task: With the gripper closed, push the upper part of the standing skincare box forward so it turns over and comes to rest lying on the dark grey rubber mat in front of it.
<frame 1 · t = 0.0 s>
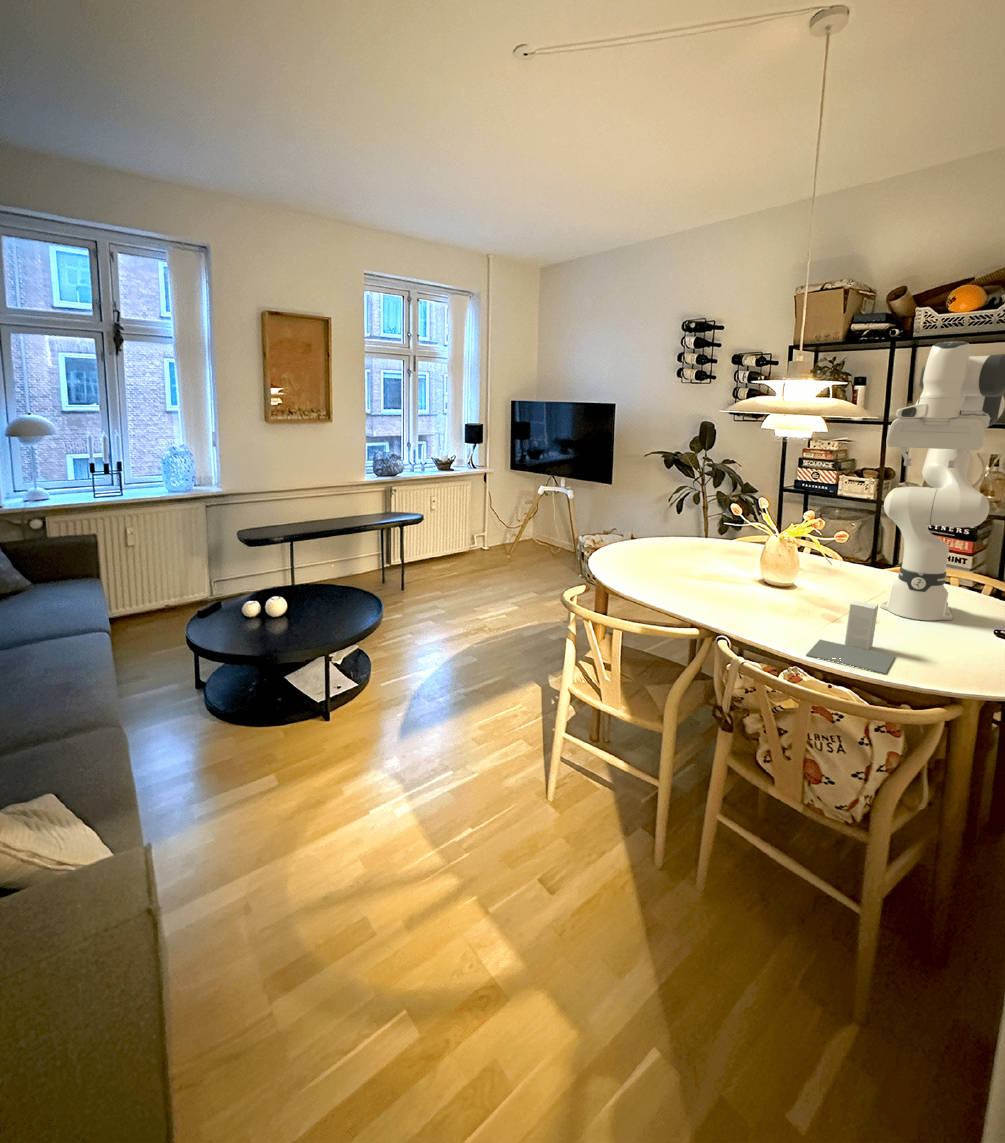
hand: (929, 466, 157), 48 cm above the table, fingers open, 8 cm apart
skincare box: (857, 646, 168), on the table
mat: (850, 656, 161), on the table
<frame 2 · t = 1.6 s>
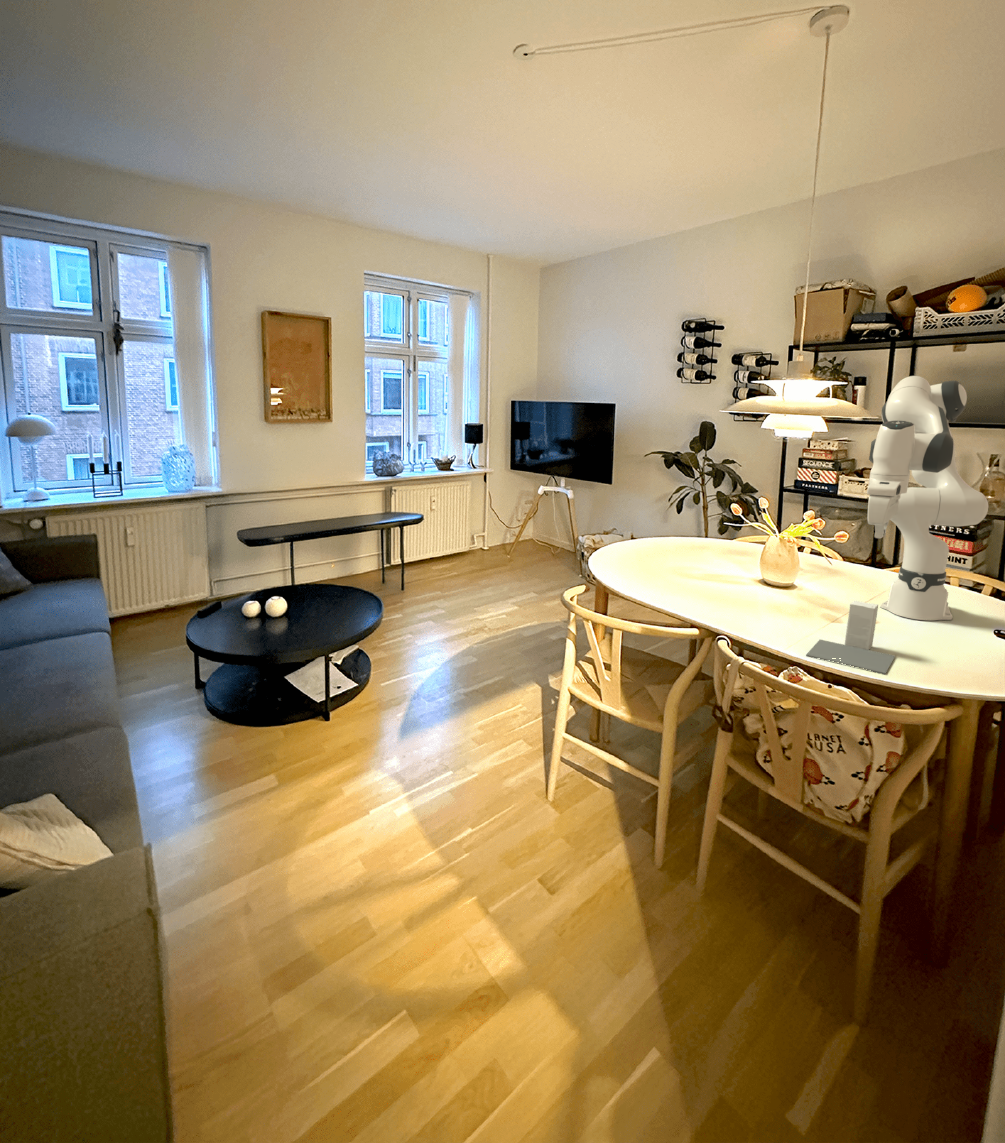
hand: (879, 536, 165), 29 cm above the table, fingers closed
nothing on the table moved.
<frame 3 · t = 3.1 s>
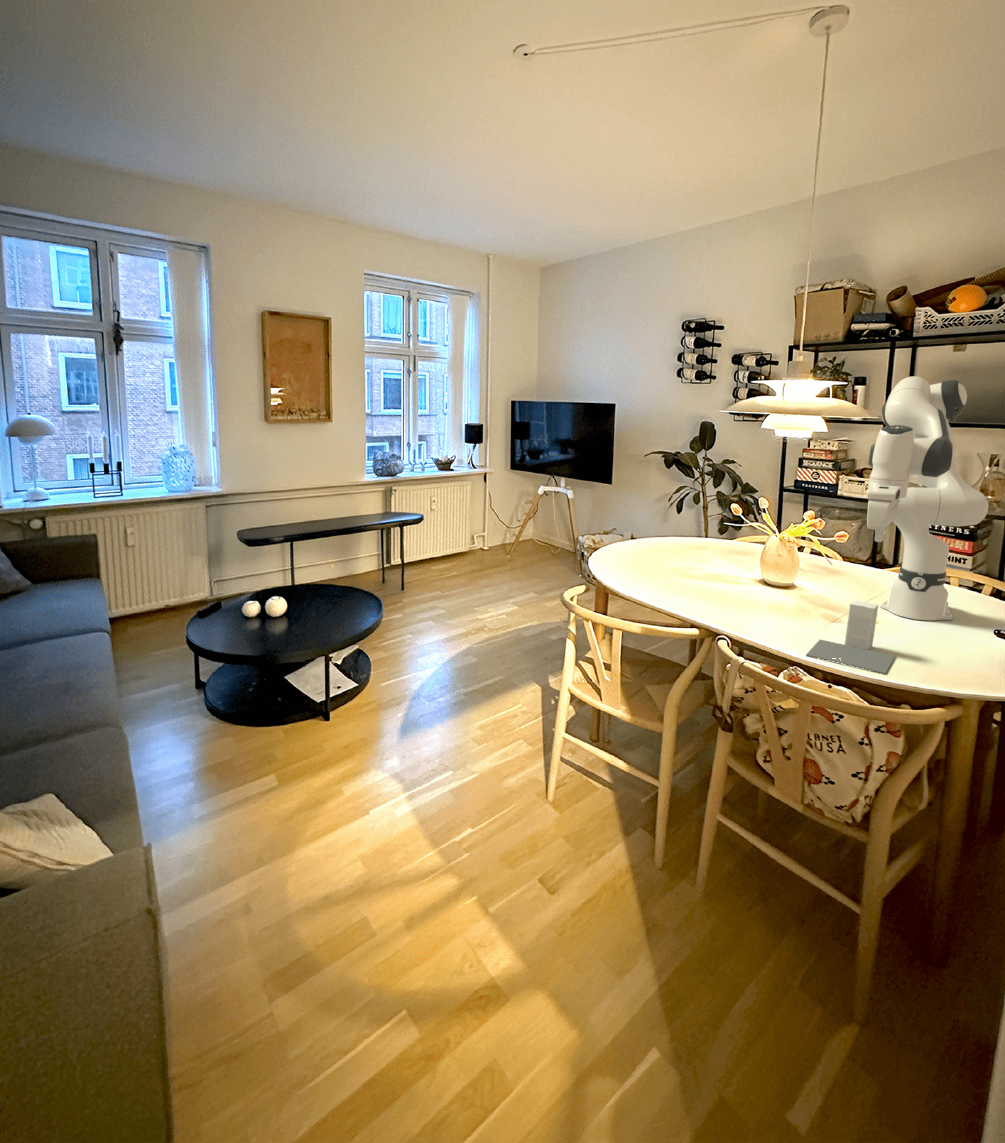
hand: (879, 541, 166), 28 cm above the table, fingers closed
nothing on the table moved.
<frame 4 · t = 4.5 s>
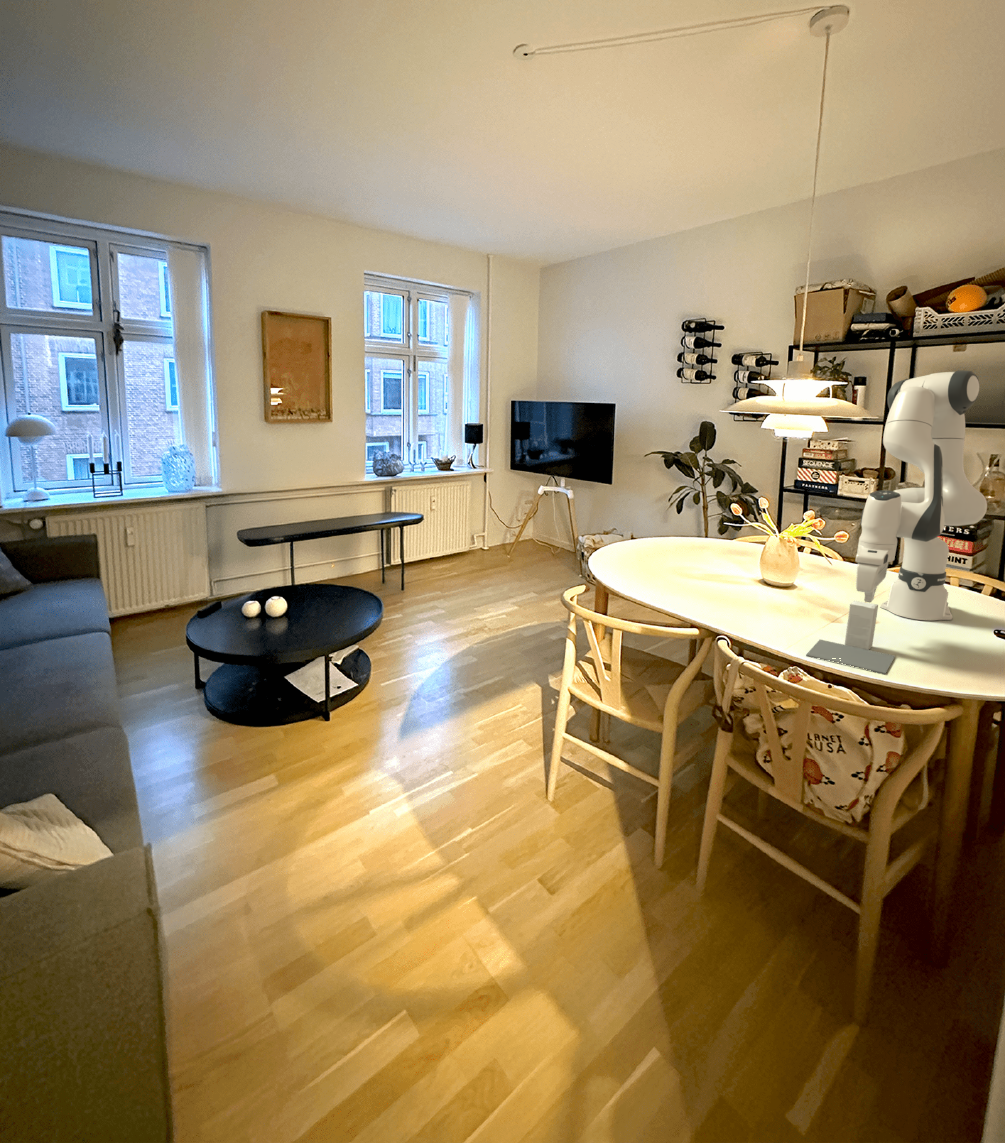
hand: (868, 601, 170), 11 cm above the table, fingers closed
nothing on the table moved.
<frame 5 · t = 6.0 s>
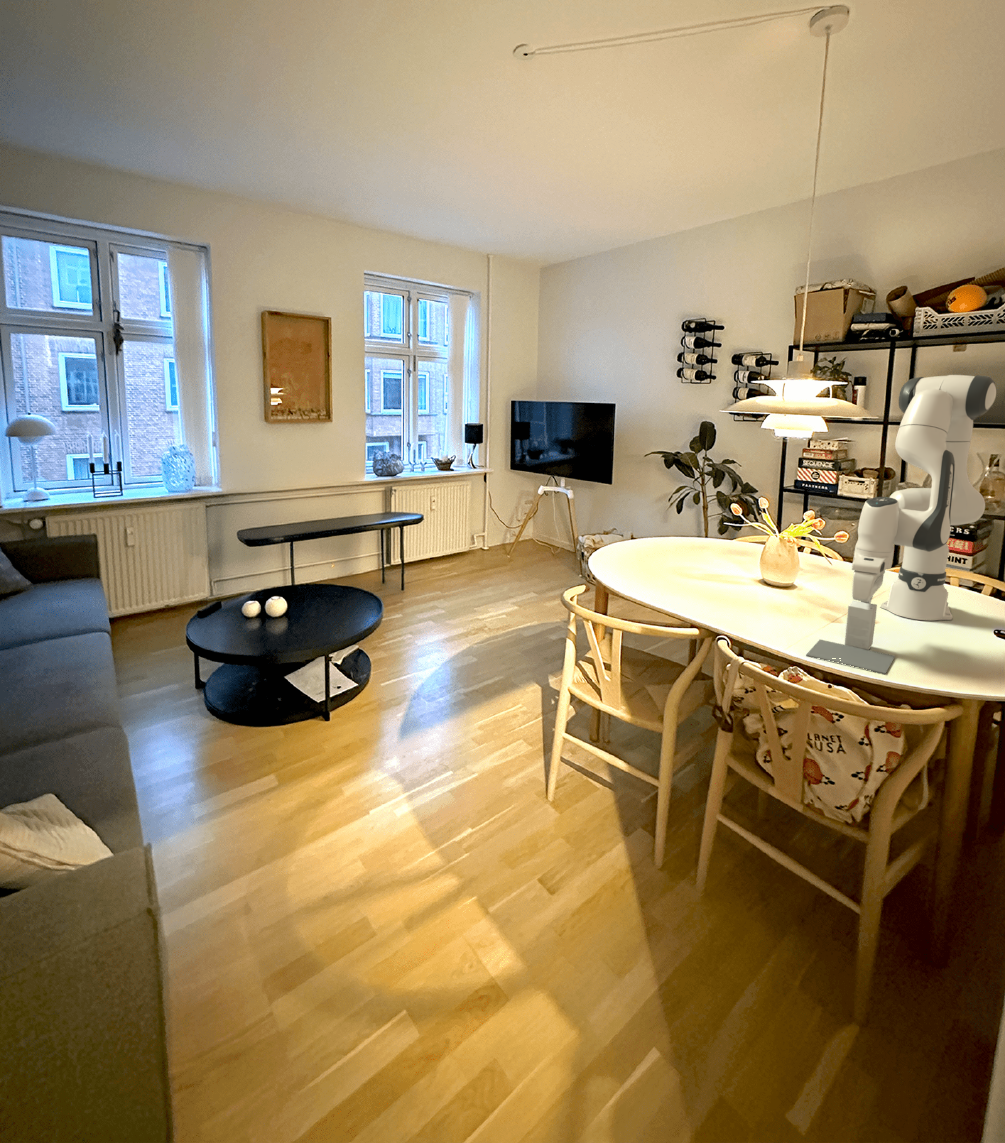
hand: (864, 609, 167), 10 cm above the table, fingers closed
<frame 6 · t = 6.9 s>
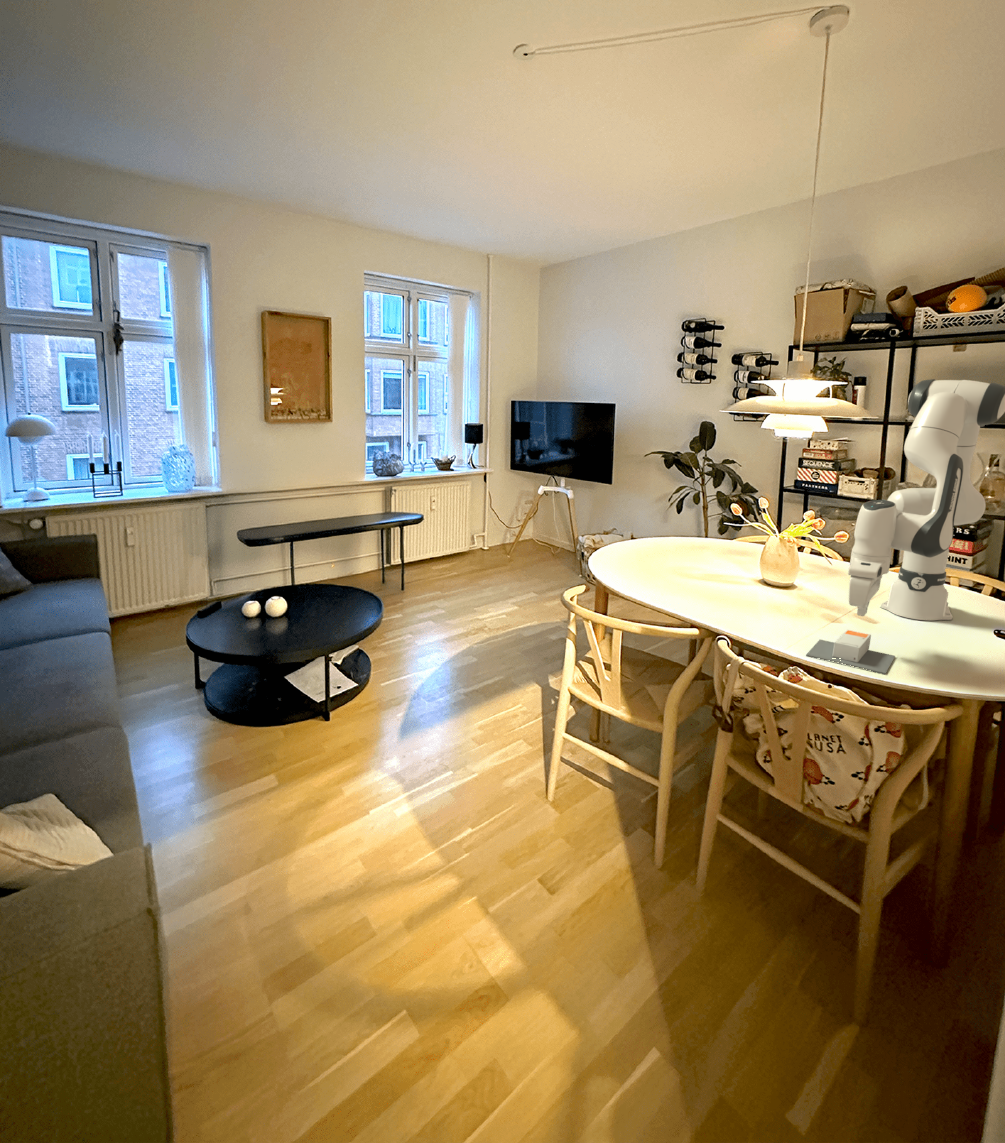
hand: (861, 614, 163), 10 cm above the table, fingers closed
skincare box: (857, 638, 166), point 3 cm above the table, touching mat
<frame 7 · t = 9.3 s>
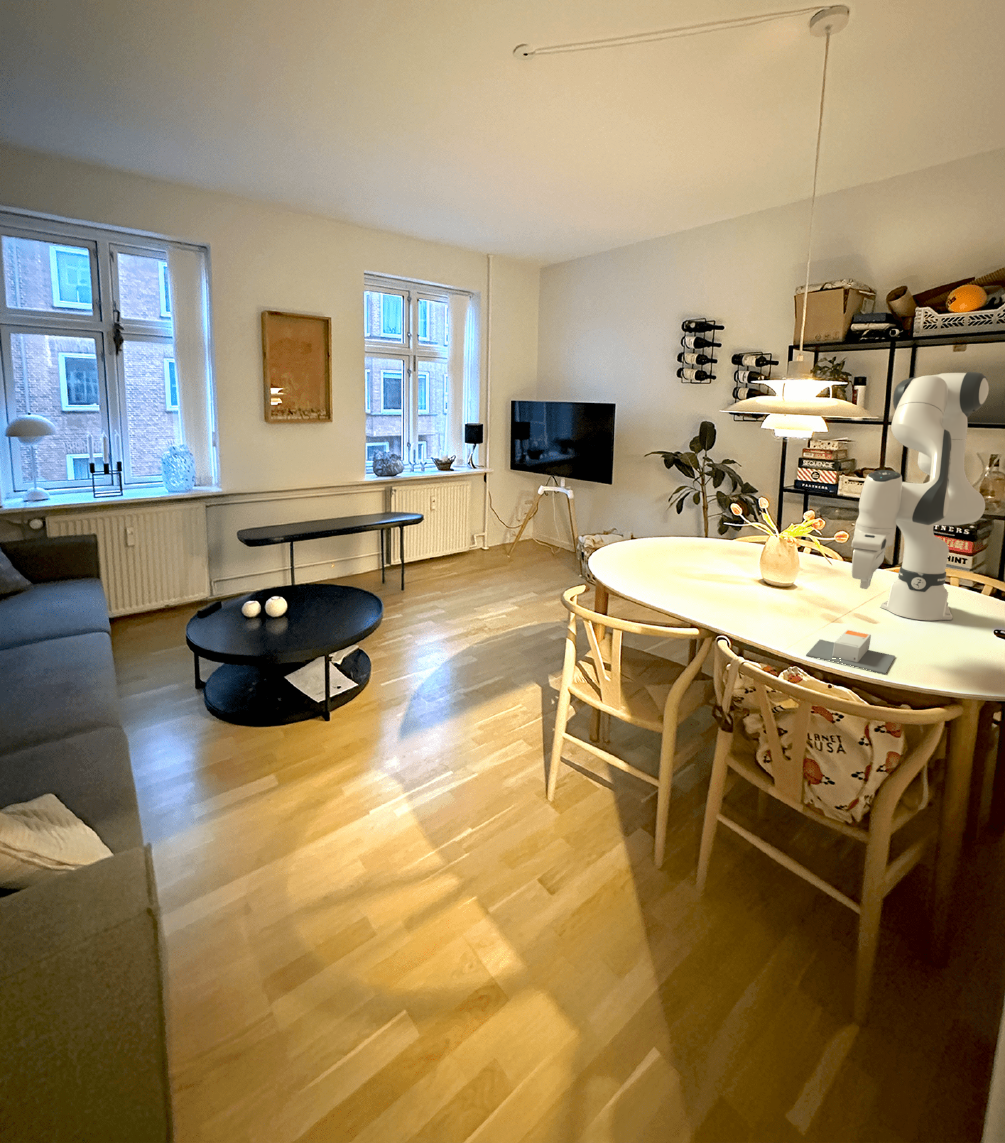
hand: (864, 587, 161), 17 cm above the table, fingers closed
nothing on the table moved.
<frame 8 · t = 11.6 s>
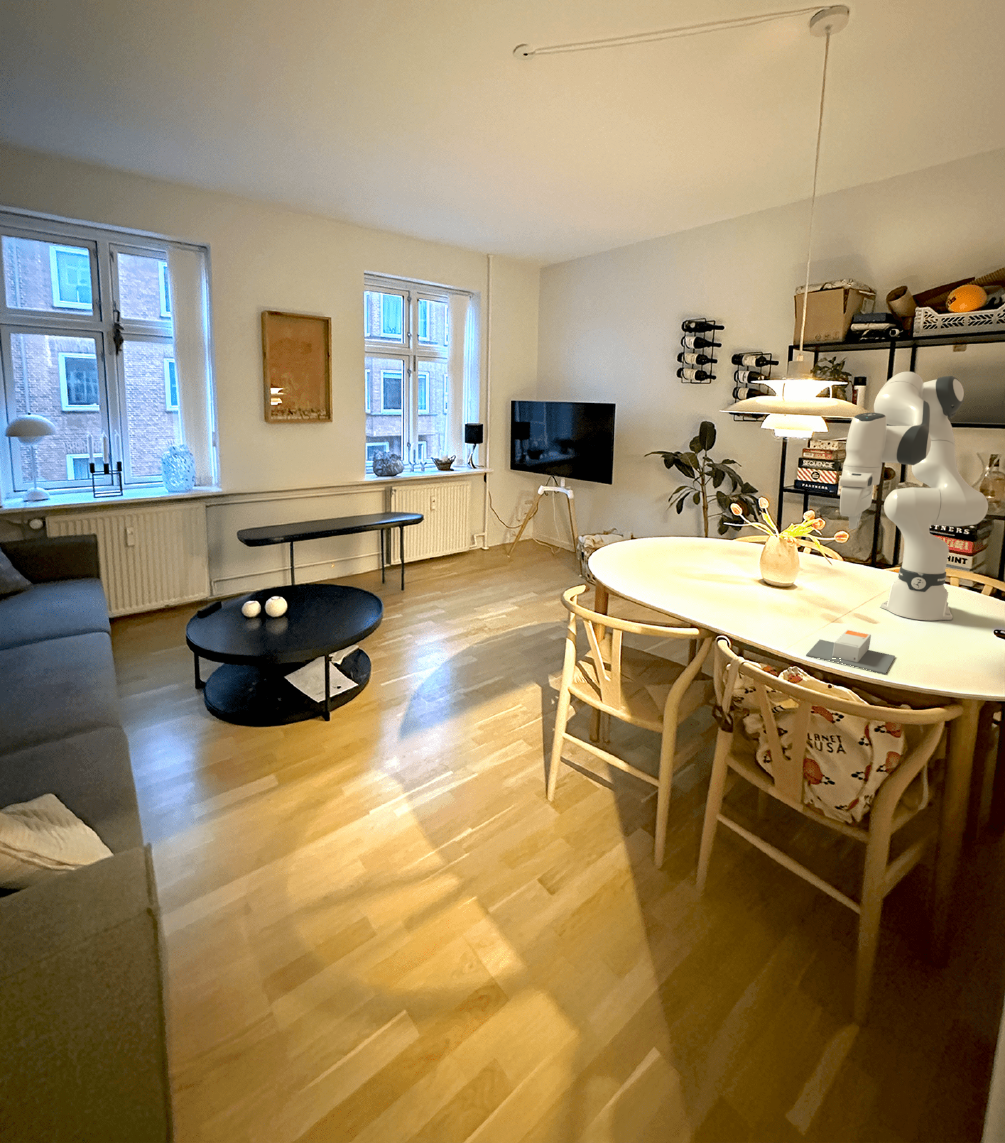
hand: (853, 528, 166), 31 cm above the table, fingers closed
nothing on the table moved.
at the end: skincare box tilted 91°; skincare box inside the target area on the mat (7.4 cm from its centre), point 2.6 cm above the mat's base; the gripper is holding nothing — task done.
